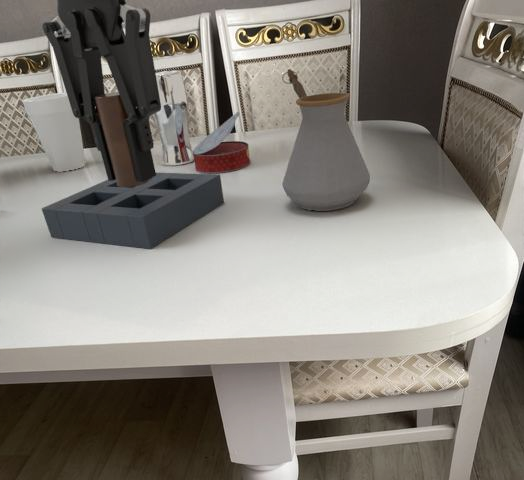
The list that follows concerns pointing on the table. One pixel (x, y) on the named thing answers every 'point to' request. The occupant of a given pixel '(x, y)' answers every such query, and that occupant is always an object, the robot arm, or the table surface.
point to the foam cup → (57, 130)
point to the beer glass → (173, 119)
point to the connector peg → (117, 138)
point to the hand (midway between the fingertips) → (132, 177)
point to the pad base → (135, 210)
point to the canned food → (221, 151)
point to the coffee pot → (324, 154)
